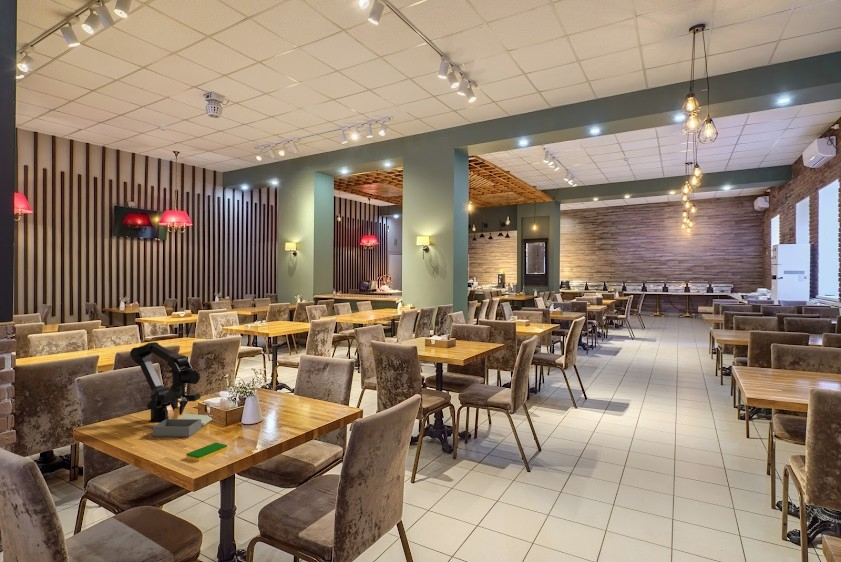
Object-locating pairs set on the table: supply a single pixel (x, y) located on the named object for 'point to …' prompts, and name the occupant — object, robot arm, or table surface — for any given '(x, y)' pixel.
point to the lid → (191, 416)
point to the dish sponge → (206, 452)
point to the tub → (177, 428)
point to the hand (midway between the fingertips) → (178, 414)
